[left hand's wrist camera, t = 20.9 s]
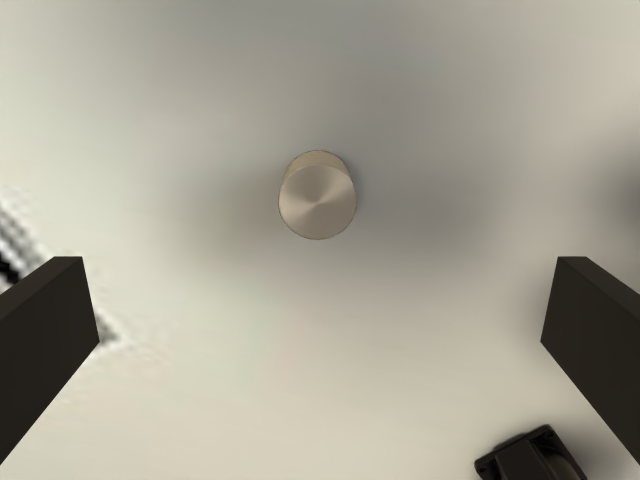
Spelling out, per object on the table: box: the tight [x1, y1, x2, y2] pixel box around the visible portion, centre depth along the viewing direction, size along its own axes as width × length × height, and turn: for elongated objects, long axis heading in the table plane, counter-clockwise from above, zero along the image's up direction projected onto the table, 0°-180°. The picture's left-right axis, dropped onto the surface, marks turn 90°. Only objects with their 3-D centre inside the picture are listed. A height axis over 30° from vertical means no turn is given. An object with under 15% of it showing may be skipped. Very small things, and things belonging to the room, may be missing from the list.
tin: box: [278, 151, 357, 240], centre depth 25 cm, size 4×4×4 cm
